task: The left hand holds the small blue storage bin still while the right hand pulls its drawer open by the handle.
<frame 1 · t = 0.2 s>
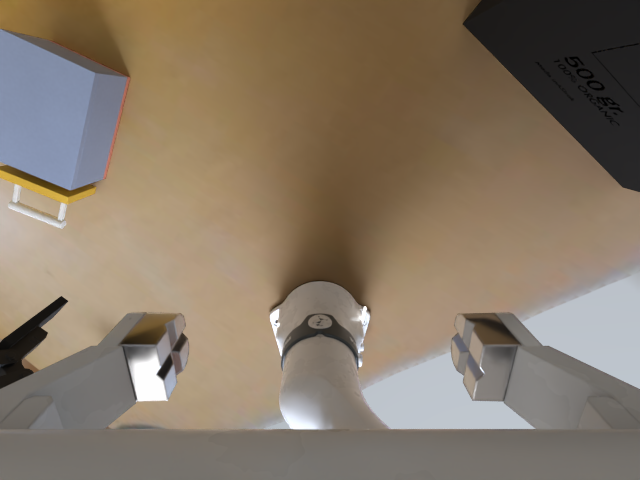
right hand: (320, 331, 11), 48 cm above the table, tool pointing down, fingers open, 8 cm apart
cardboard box: (604, 53, 50), on the table
drawer: (53, 155, 51), point 4 cm above the table, slide at 1.6 cm
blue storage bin: (80, 114, 53), on the table
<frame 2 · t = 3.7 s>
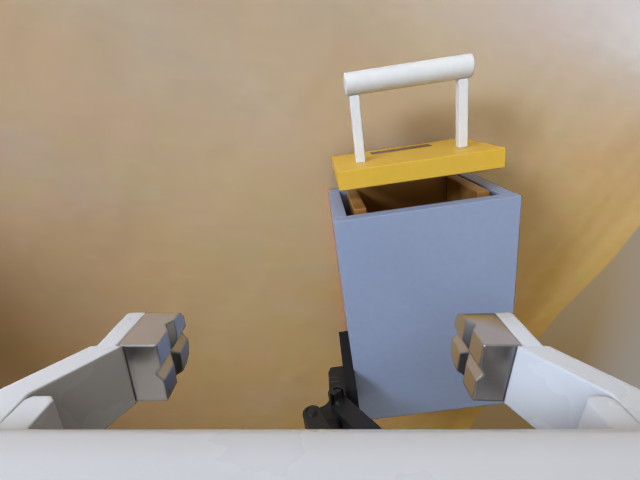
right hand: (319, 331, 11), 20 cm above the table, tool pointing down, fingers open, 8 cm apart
drawer: (410, 219, 26), point 4 cm above the table, slide at 1.6 cm
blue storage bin: (401, 268, 32), on the table, touching left hand
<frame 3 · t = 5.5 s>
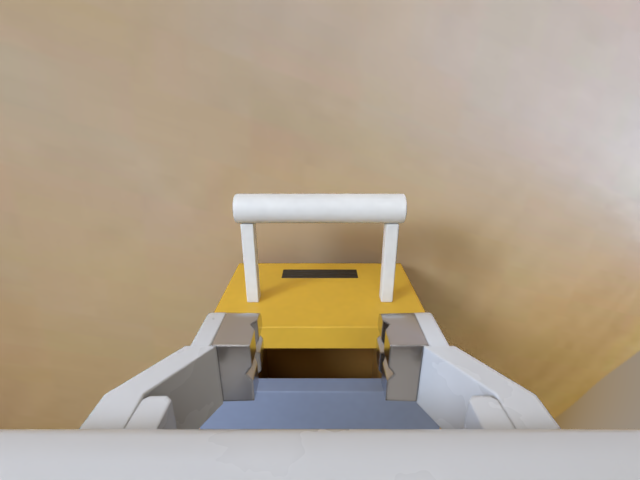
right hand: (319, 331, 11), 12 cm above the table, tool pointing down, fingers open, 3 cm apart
drawer: (319, 363, 20), point 4 cm above the table, slide at 1.6 cm
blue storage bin: (320, 389, 27), on the table, touching left hand
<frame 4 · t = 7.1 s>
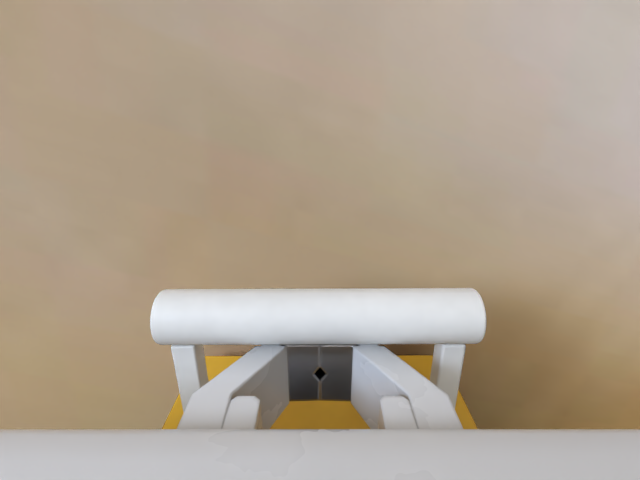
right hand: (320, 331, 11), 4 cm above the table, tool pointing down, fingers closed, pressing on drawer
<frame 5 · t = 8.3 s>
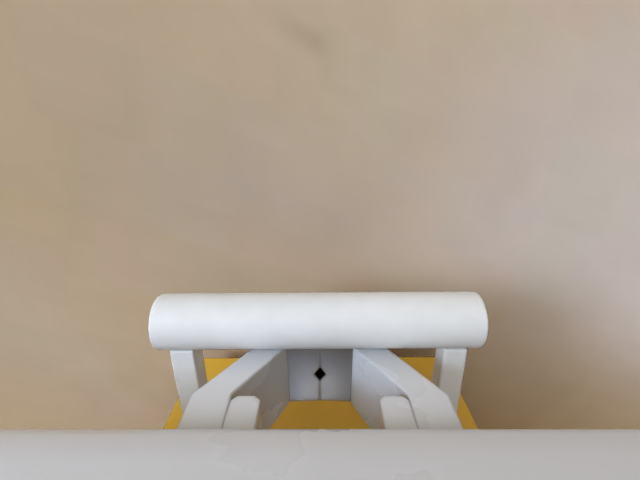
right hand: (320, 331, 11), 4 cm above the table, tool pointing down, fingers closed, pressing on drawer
when the left hand's fingers open (4 cm above the table, at t = 10.1 s): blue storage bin stays where it is, on the table.
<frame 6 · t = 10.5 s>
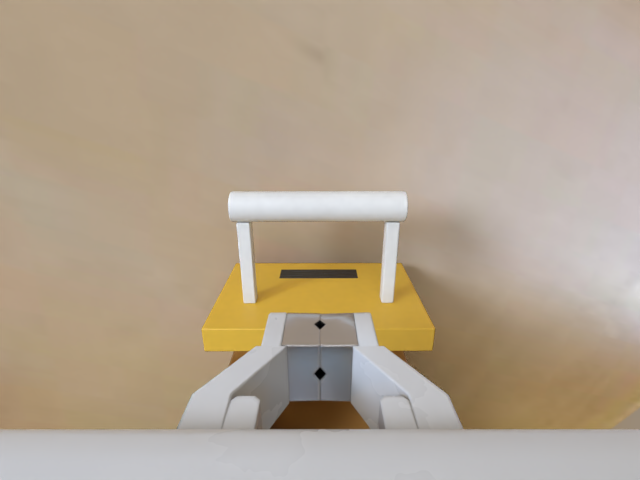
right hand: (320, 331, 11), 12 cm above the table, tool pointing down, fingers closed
drawer: (318, 365, 20), point 4 cm above the table, slide at 8.6 cm
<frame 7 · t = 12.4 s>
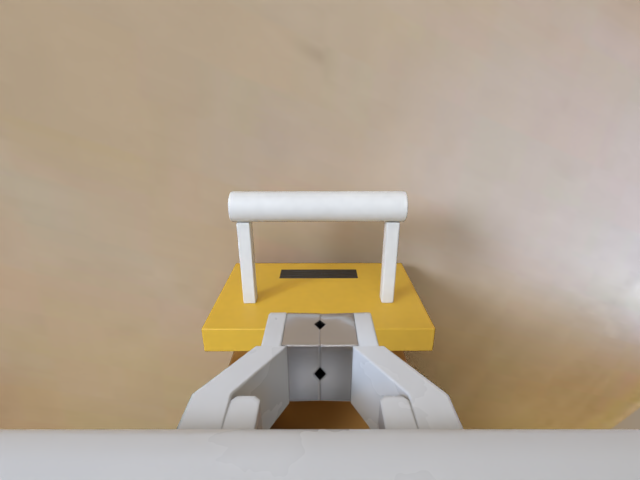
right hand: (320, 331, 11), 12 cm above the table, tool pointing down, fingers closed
drawer: (318, 365, 20), point 4 cm above the table, slide at 8.6 cm
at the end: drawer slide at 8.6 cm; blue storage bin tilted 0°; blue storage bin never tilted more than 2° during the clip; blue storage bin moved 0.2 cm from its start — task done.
